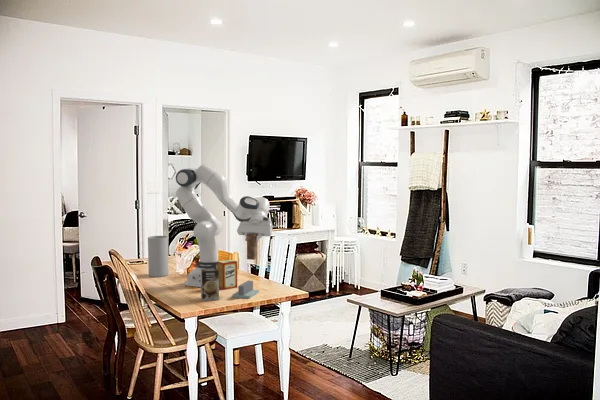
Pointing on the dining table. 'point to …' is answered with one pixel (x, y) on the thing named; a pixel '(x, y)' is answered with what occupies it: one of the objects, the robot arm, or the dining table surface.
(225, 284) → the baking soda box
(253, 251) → the oak post
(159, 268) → the cylinder vase
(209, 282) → the coffee box
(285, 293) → the dining table surface
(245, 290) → the rail
